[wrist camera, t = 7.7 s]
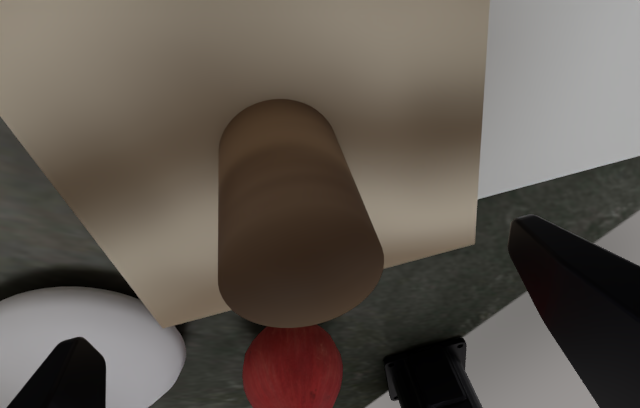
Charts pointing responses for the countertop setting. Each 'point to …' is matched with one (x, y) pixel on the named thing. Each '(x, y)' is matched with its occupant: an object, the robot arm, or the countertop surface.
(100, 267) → the countertop surface
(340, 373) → the onion
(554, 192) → the countertop surface
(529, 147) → the mat
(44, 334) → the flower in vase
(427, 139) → the board
